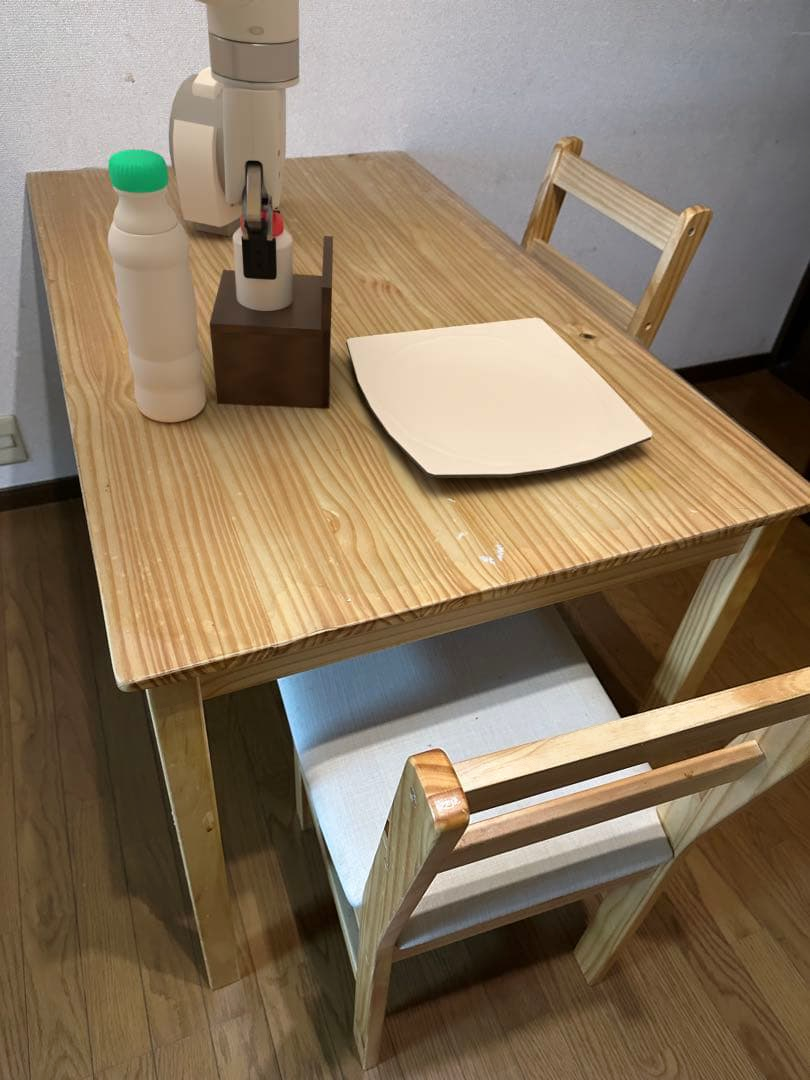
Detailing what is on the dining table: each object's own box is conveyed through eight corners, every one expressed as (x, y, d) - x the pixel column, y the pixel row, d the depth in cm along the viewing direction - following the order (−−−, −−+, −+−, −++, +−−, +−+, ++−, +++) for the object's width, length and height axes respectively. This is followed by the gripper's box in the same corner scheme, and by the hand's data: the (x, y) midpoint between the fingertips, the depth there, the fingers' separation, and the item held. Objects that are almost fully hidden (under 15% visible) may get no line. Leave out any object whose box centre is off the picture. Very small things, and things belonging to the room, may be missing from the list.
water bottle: (139, 388, 83) (96, 140, 66) (206, 386, 84) (181, 143, 67) (135, 426, 78) (86, 169, 61) (206, 424, 79) (178, 172, 62)
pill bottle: (300, 307, 80) (300, 227, 74) (245, 314, 78) (240, 232, 72) (283, 282, 83) (281, 203, 78) (229, 288, 81) (224, 207, 75)
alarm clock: (227, 195, 124) (217, 51, 110) (276, 205, 123) (273, 61, 109) (174, 236, 111) (155, 79, 97) (228, 248, 110) (217, 90, 96)
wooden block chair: (217, 403, 82) (205, 279, 73) (228, 346, 91) (219, 228, 81) (329, 408, 83) (332, 287, 74) (330, 351, 92) (333, 236, 82)
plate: (330, 354, 92) (331, 333, 90) (539, 330, 101) (543, 311, 99) (418, 507, 73) (421, 486, 71) (664, 461, 82) (672, 441, 80)
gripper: (221, 32, 71) (234, 226, 84) (196, 81, 59) (215, 300, 71) (302, 40, 72) (303, 231, 84) (294, 90, 60) (296, 305, 72)
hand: (262, 261), depth 78 cm, fingers closed on pill bottle, 5 cm apart
